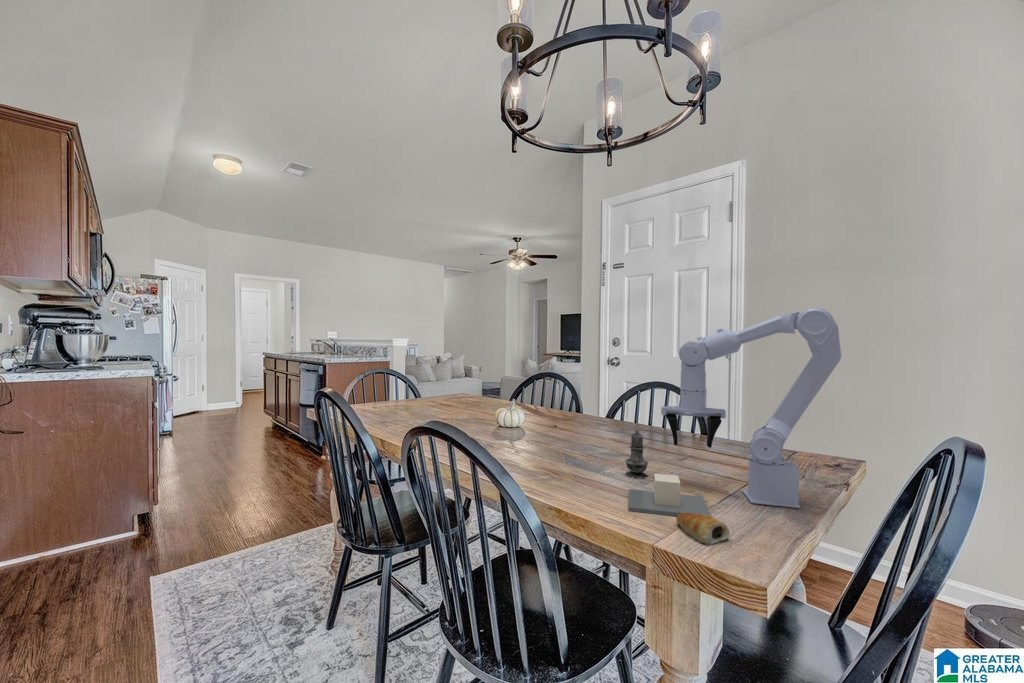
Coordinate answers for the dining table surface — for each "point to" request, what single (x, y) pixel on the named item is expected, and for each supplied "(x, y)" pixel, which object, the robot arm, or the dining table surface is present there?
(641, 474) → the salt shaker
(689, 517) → the pastry
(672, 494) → the block
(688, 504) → the board
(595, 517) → the dining table surface
